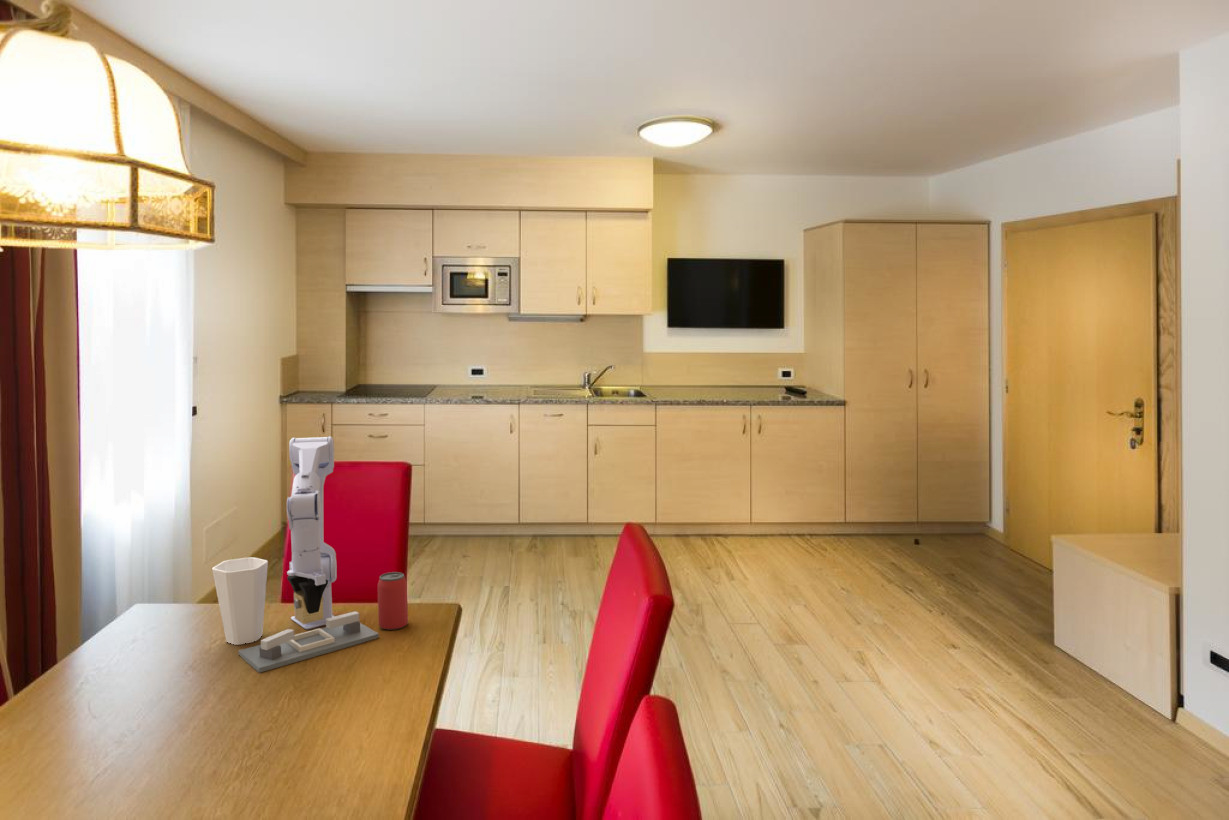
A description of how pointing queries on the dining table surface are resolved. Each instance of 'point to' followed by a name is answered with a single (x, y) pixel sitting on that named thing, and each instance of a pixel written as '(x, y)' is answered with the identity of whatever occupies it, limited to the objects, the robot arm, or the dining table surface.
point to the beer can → (392, 601)
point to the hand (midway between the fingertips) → (308, 609)
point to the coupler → (305, 609)
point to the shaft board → (307, 642)
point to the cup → (241, 598)
